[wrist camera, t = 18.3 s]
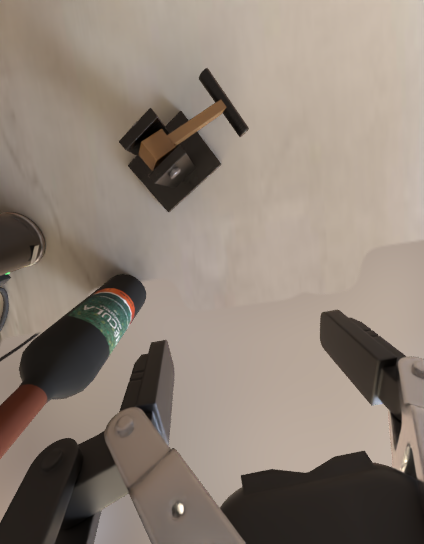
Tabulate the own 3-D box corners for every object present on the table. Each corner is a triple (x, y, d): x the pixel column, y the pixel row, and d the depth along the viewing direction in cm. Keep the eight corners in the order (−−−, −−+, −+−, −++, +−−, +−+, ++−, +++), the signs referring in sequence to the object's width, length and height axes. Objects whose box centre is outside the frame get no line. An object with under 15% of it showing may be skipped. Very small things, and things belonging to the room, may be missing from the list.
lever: (203, 79, 28) (211, 62, 26) (242, 136, 30) (253, 124, 28) (118, 131, 23) (118, 115, 21) (170, 193, 25) (176, 184, 23)
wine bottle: (98, 281, 41) (-156, 467, 13) (135, 268, 41) (-50, 437, 12) (117, 316, 44) (-64, 538, 15) (152, 304, 43) (30, 517, 14)
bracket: (182, 113, 33) (160, 58, 20) (220, 165, 35) (224, 146, 22) (130, 166, 35) (80, 148, 22) (169, 211, 37) (145, 219, 24)
